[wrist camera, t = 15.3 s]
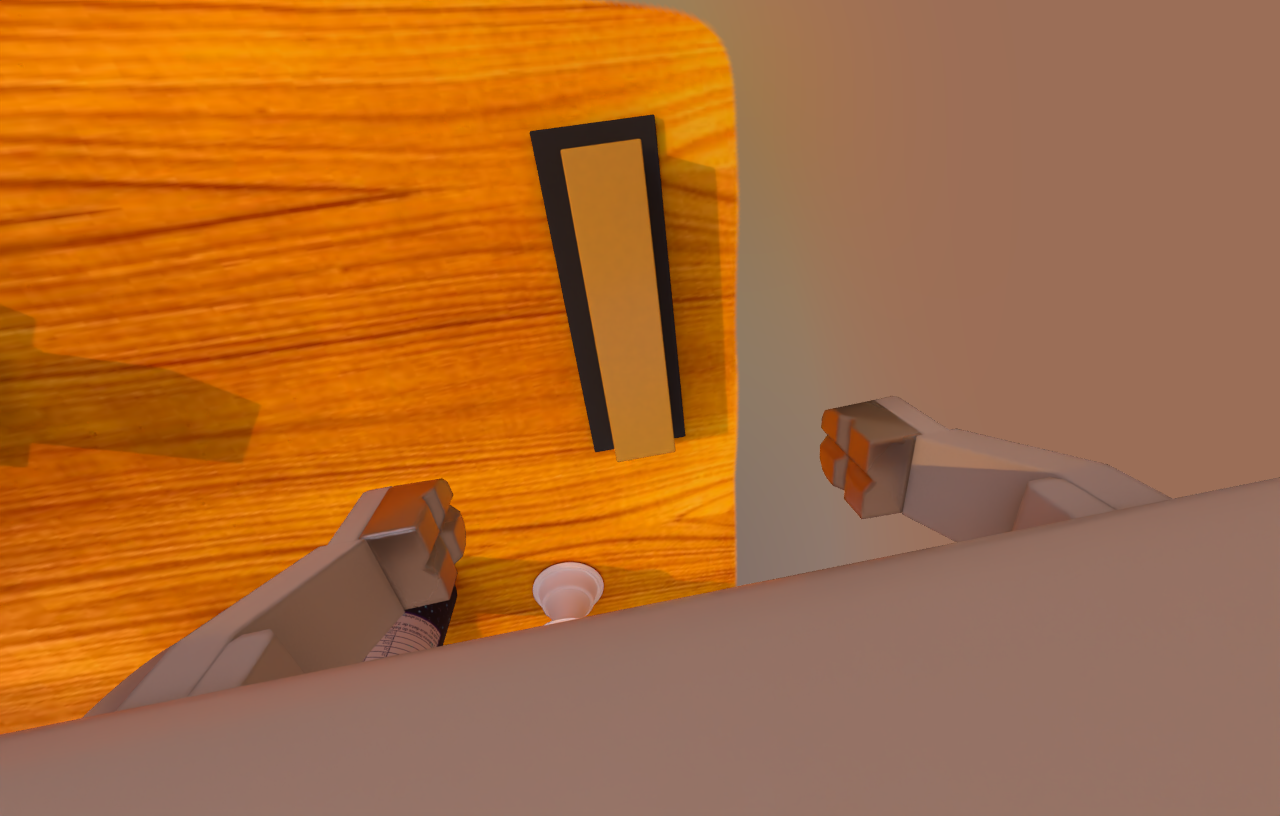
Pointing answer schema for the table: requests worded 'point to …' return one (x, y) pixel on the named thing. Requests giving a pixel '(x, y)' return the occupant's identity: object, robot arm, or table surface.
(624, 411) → the bar
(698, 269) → the table surface
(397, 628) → the beverage can
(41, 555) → the table surface
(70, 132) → the table surface
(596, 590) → the candle
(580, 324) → the mat
